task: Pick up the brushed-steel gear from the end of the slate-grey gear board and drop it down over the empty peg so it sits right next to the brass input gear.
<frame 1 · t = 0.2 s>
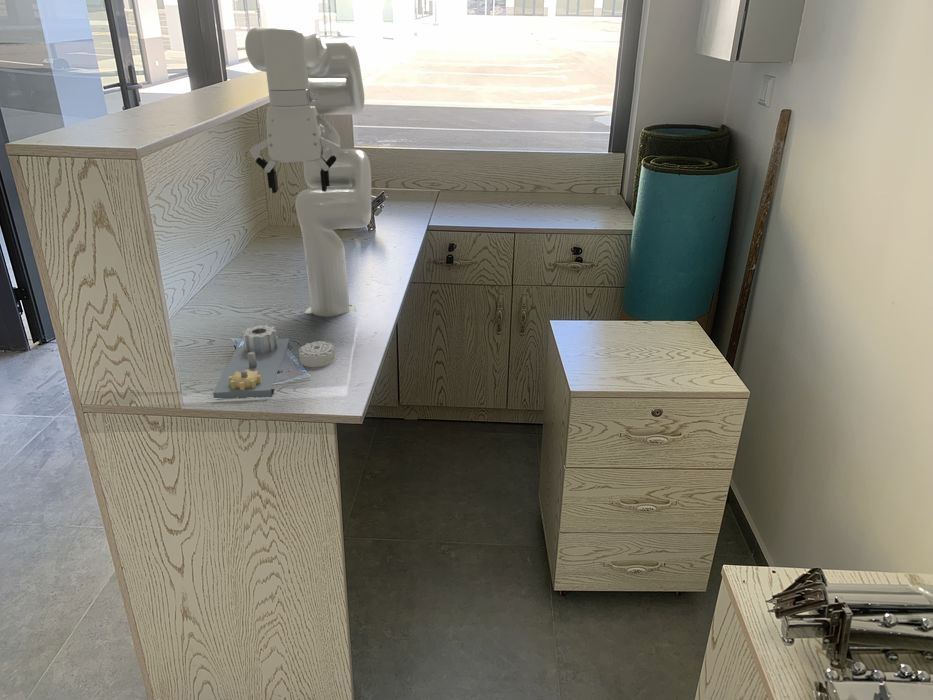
hand: (300, 191, 138), 36 cm above the worktop, tool pointing down, fingers open, 9 cm apart
steel gear: (261, 347, 153), point 1 cm above the worktop, touching gear board
mechanical component: (318, 367, 148), on the worktop
gear board: (255, 369, 146), on the worktop
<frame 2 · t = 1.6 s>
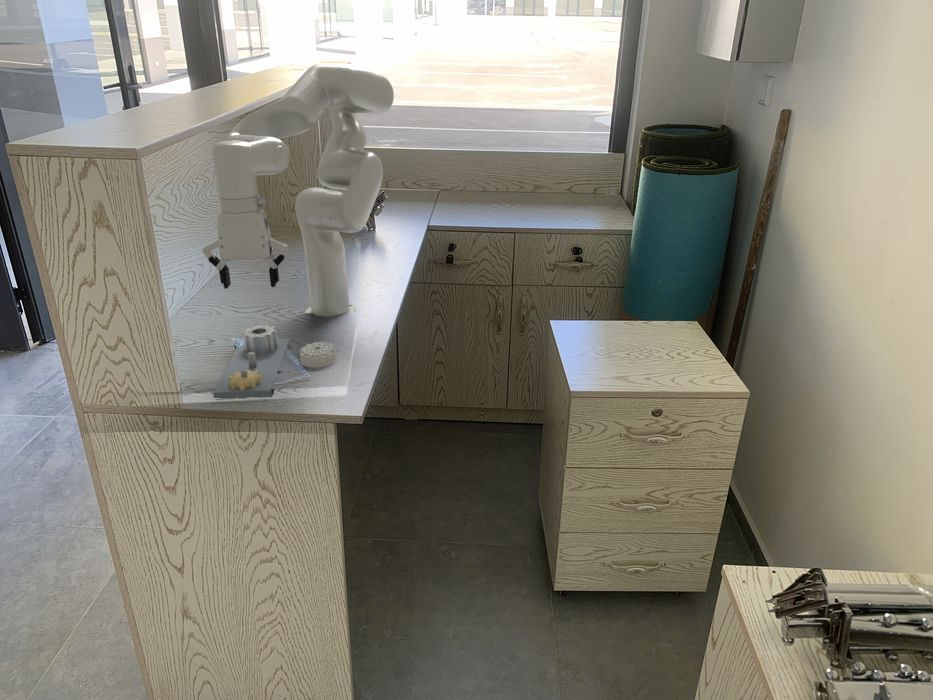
hand: (250, 285, 147), 16 cm above the worktop, tool pointing down, fingers open, 9 cm apart
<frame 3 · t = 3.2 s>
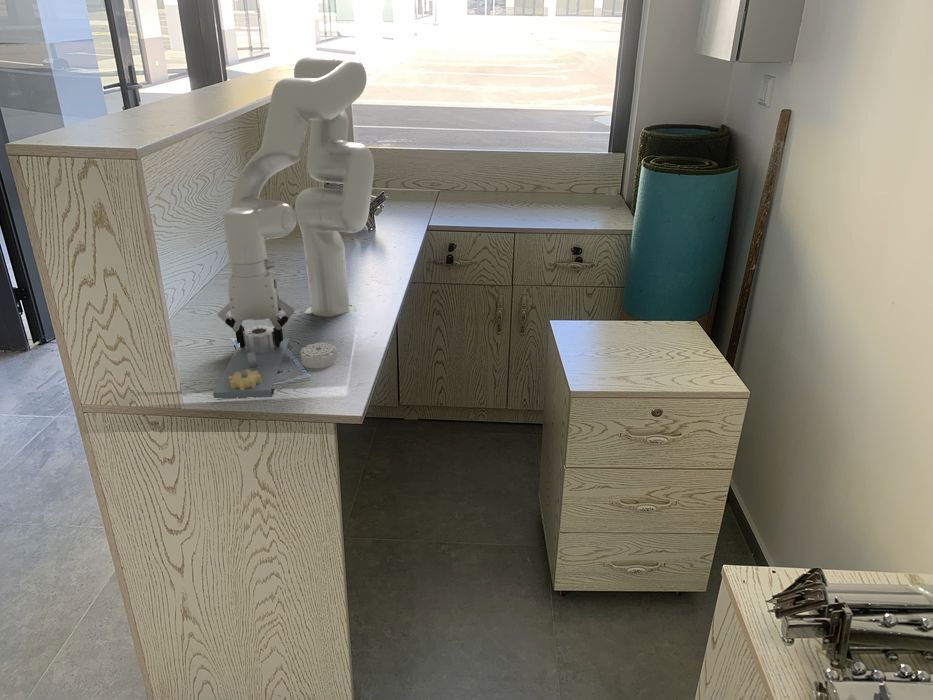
hand: (260, 344, 153), 2 cm above the worktop, tool pointing down, fingers closed on steel gear, 7 cm apart
steel gear: (261, 347, 153), point 1 cm above the worktop, touching gear board, gripper
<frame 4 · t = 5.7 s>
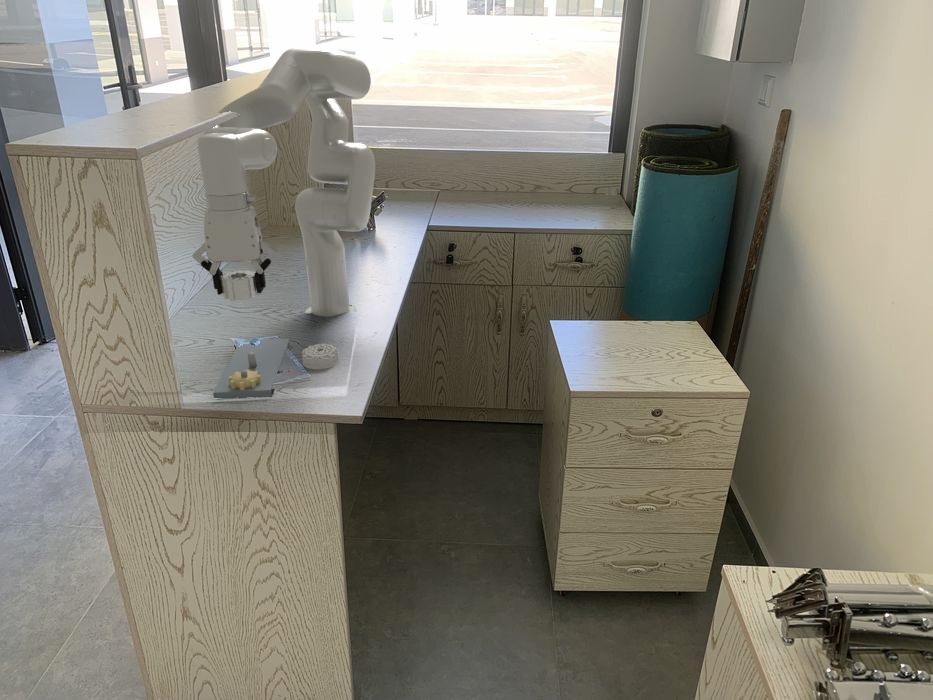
hand: (240, 291, 138), 18 cm above the worktop, tool pointing down, fingers closed on steel gear, 7 cm apart
steel gear: (241, 294, 138), point 17 cm above the worktop, touching gripper
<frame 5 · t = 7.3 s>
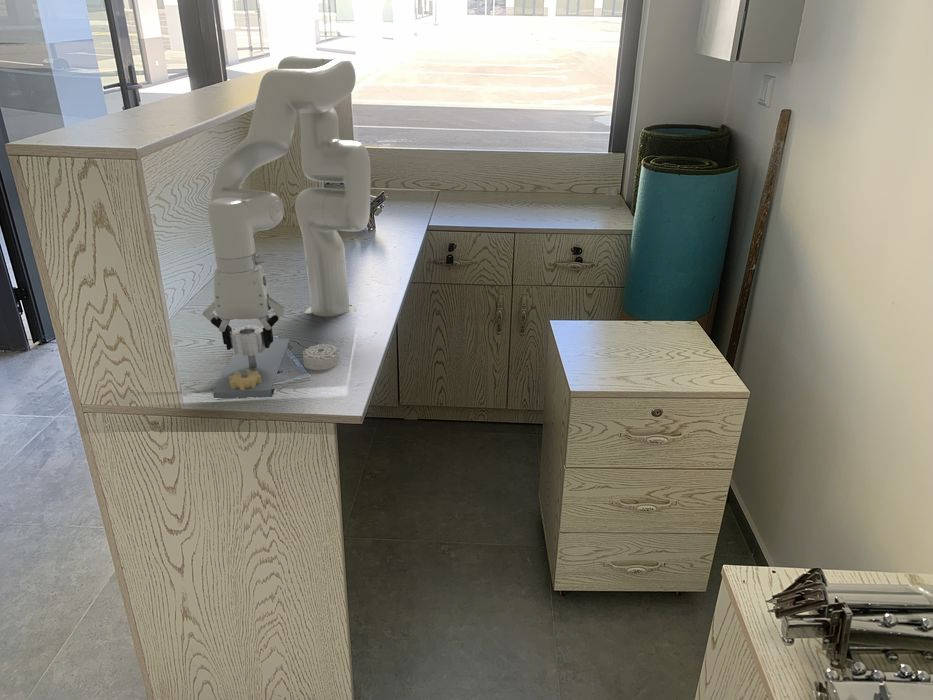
hand: (249, 345, 142), 6 cm above the worktop, tool pointing down, fingers closed on steel gear, 7 cm apart
steel gear: (249, 349, 143), point 6 cm above the worktop, touching gripper
when the fingers open (3 cm above the worktop, at t = 8.5 s): steel gear stays where it is, resting on gear board.
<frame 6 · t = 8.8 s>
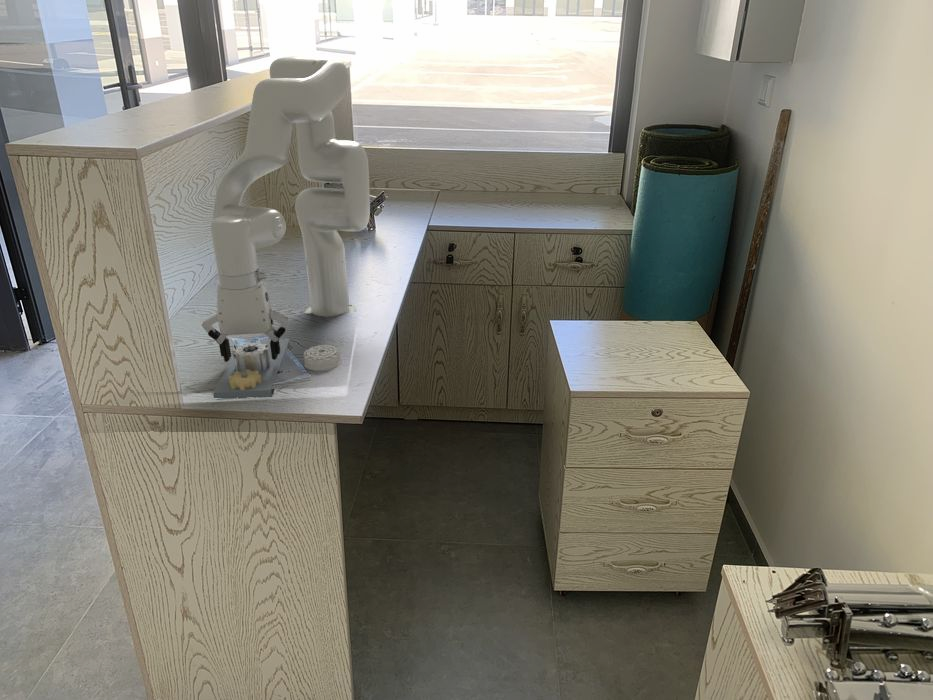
hand: (251, 357, 144), 3 cm above the worktop, tool pointing down, fingers open, 9 cm apart
steel gear: (253, 366, 144), point 1 cm above the worktop, touching gear board
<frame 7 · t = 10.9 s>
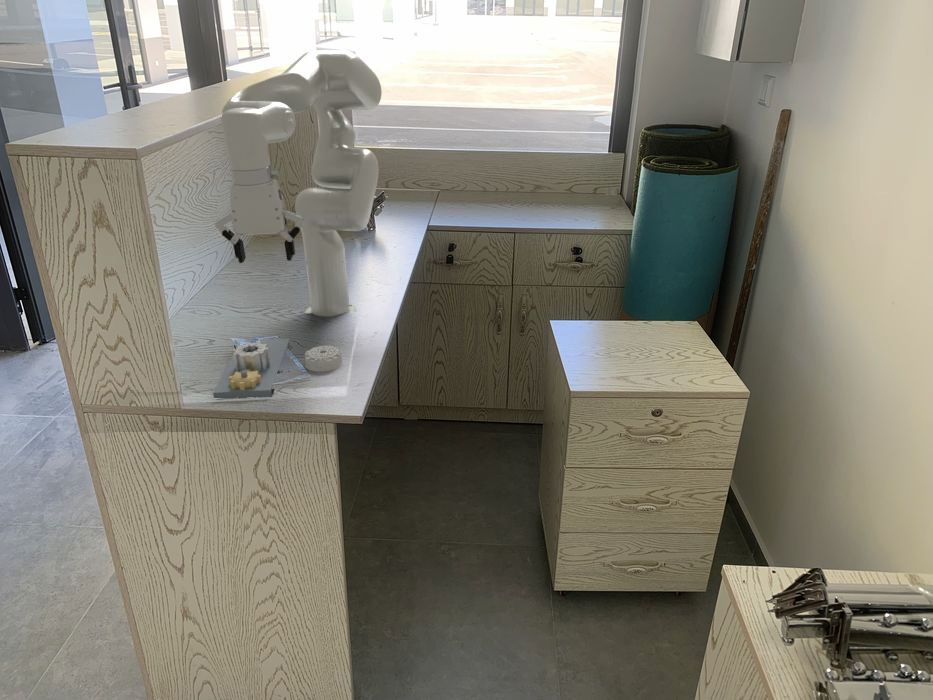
hand: (266, 259, 142), 22 cm above the worktop, tool pointing down, fingers open, 9 cm apart
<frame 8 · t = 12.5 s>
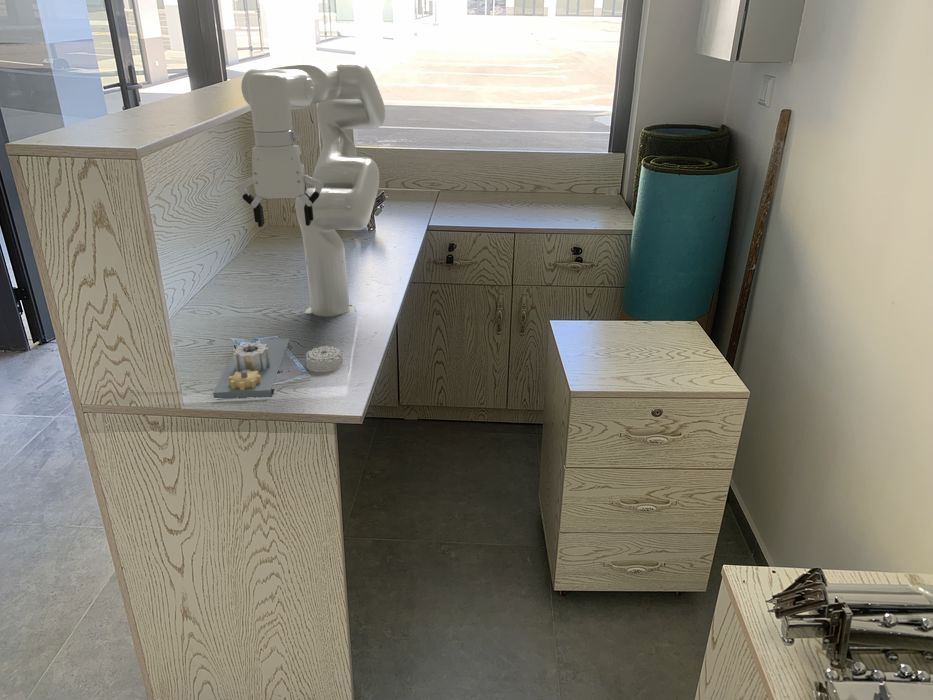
hand: (285, 224, 144), 28 cm above the worktop, tool pointing down, fingers open, 9 cm apart
at the end: steel gear 0.0 cm from the target spot on the gear board, point 1.5 cm above the gear board's base; steel gear tilted 0°; the gripper is holding nothing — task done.
